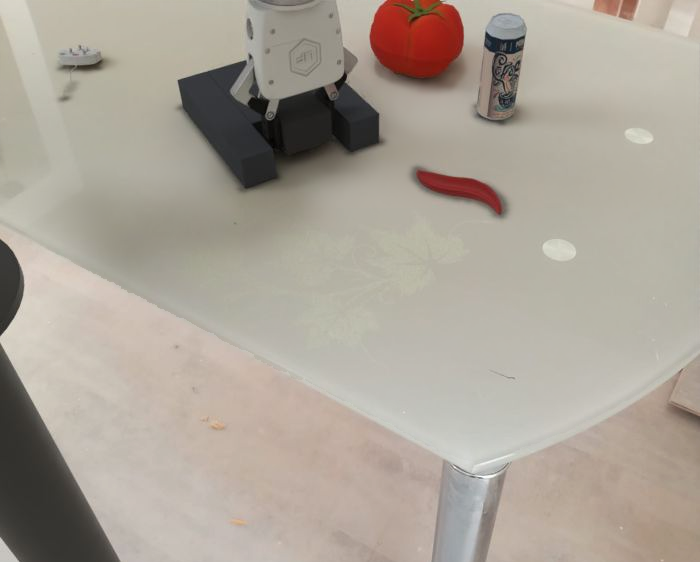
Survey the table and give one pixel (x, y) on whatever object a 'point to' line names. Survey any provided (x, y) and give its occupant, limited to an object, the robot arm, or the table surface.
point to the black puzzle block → (303, 122)
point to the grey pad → (246, 125)
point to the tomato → (416, 36)
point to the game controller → (79, 57)
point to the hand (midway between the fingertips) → (299, 133)
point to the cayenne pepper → (460, 188)
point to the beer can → (501, 66)
